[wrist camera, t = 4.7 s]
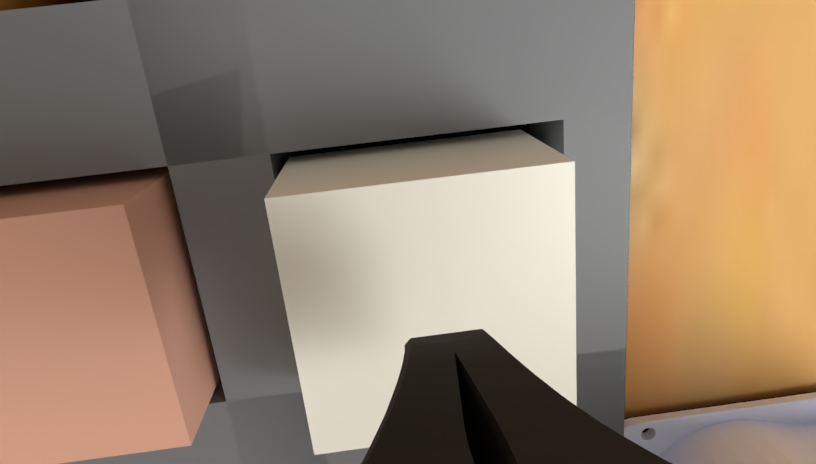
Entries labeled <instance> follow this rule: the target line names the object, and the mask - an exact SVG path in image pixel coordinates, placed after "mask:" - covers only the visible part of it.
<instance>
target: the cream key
mask: <svg viewBox="0 0 816 464" xmlns="http://www.w3.org/2000/svg"><path fill="white" fill-rule="evenodd" d="M264 201H265V206H266V211H267V216H268V221H269V226H270V231H271V236H272V241H273V247H274V252H275V257H276V262H277V267H278V272H279V277H280V282H281V287H282V293H283V298H284V303H285V308H286V313H287V318H288V323H289V328H290V333H291V339H292V344H293V349H294V354H295V359H296V364H297V369H298V374H299V379H300V385H301V390H302V395H303V400H304V405H305V410H306V415H307V420H308V425H309V431H310V436H311V441H312V446H313V451H314V455H318V454H326V453H333V452H340V451H347V450H354V449H362V448H369V447H370V445H371V443H372V441H373V439H374V437H375V435H376V433H377V431H378V429H379V426H380V424H381V422H382V420H383V418H384V416H385V413H386V411H387V408H388V406H389V403H390V400H391V398H392V395H393V392H394V390H395V387H396V384H397V381H398V378H399V374H400V371H401V367H402V363H403V359H404V352H405V344H406V343H407V342H408V341H409V339H410V338H416V337H424V336H431V335H439V334H446V333H454V332H461V331H469V330H477V329H483V330H484V331H486V332H487V333H488V334H489V335H490V336H491V337H493V338H494V339H495V340H496V341H497V342H498V343H499V344H500V345H502V346H503V347H504V348H505V349H506V350H507V351H508V352H509V353H510V354H512V355H513V356H514V357H515V358H516V359H517V360H519V361H520V362H521V363H522V364H523V365H524V366H525V367H527V368H528V369H529V370H530V371H531V372H533V373H534V374H535V375H536V376H538V377H539V378H540V379H541V380H543V381H544V382H545V383H547V384H548V385H549V386H550V387H552V388H553V389H554V390H555V391H557V392H558V393H559V394H560V395H562V396H563V397H565V398H566V399H567V400H569V401H570V402H572V403H573V404H574V405H576V406H577V382H576V245H575V161H574V160H572V159H570V158H569V157H567V156H565V155H563V154H562V153H560V152H558V151H557V150H555V149H553V148H551V147H550V146H548V145H546V144H545V143H543V142H541V141H539V140H538V139H536V138H534V137H533V136H531V135H529V134H527V133H526V132H524V131H522V130H521V129H520V130H512V131H503V132H495V133H486V134H478V135H469V136H461V137H453V138H444V139H436V140H427V141H419V142H410V143H402V144H393V145H385V146H376V147H368V148H359V149H351V150H343V151H334V152H326V153H317V154H309V155H300V156H292V157H289V159H288V160H287V162H286V163H285V165H284V167H283V168H282V170H281V172H280V173H279V175H278V177H277V178H276V180H275V182H274V183H273V185H272V187H271V188H270V190H269V192H268V193H267V195H266V196H265V198H264Z"/></svg>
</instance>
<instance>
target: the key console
mask: <svg viewBox="0 0 816 464" xmlns="http://www.w3.org/2000/svg"><path fill="white" fill-rule="evenodd" d="M634 22H635V0H97V1H88V2H78V3H69V4H60V5H50V6H41V7H32V8H22V9H13V10H3V11H0V186H4V185H13V184H21V183H30V182H38V181H47V180H55V179H64V178H72V177H81V176H89V175H97V174H106V173H114V172H123V171H131V170H140V169H148V168H157V167H165V166H168V170H169V174H170V178H171V182H172V186H173V190H174V194H175V198H176V202H177V206H178V210H179V214H180V218H181V222H182V226H183V230H184V234H185V238H186V242H187V246H188V250H189V254H190V258H191V262H192V266H193V270H194V274H195V278H196V282H197V286H198V290H199V294H200V298H201V302H202V306H203V310H204V314H205V318H206V322H207V326H208V330H209V334H210V338H211V342H212V346H213V350H214V354H215V358H216V362H217V366H218V370H219V374H220V378H219V380H218V383H217V385H216V388H215V390H214V392H213V395H212V397H211V400H210V402H209V404H208V407H207V409H206V412H205V414H204V416H203V419H202V421H201V424H200V426H199V428H198V431H197V433H196V435H195V438H194V440H193V443H192V445H191V446H185V447H177V448H170V449H163V450H155V451H148V452H141V453H133V454H126V455H119V456H111V457H104V458H97V459H89V460H82V461H75V462H67V463H60V464H361V463H362V461H363V459H364V457H365V455H366V454H367V452H368V450H369V448H370V447H369V448H362V449H354V450H347V451H340V452H333V453H326V454H318V455H314V451H313V446H312V441H311V436H310V431H309V425H308V420H307V415H306V410H305V405H304V400H303V395H302V390H301V385H300V379H299V374H298V369H297V364H296V359H295V354H294V349H293V344H292V339H291V333H290V328H289V323H288V318H287V313H286V308H285V303H284V298H283V293H282V287H281V282H280V277H279V272H278V267H277V262H276V257H275V252H274V247H273V241H272V236H271V231H270V226H269V221H268V216H267V211H266V206H265V201H264V198H265V196H266V195H267V193H268V192H269V190H270V188H271V187H272V185H273V183H274V182H275V180H276V178H277V177H278V175H279V173H280V172H281V170H282V168H283V167H284V165H285V163H286V162H287V160H288V159H289V157H290V156H289V152H293V151H301V150H310V149H318V148H327V147H335V146H344V145H352V144H361V143H369V142H377V141H386V140H394V139H403V138H411V137H420V136H428V135H437V134H445V133H454V132H462V131H471V130H479V129H488V128H496V127H505V126H513V125H522V124H530V135H531V136H533V137H534V138H536V139H538V140H539V141H541V142H543V143H545V144H546V145H548V146H550V147H551V148H553V149H555V150H557V151H558V152H560V153H562V154H563V155H565V156H567V157H569V158H570V159H572V160H574V161H575V245H576V382H577V407H579V408H580V409H582V410H583V411H585V412H586V413H588V414H589V415H591V416H592V417H593V418H595V419H596V420H598V421H599V422H601V423H602V424H604V425H606V426H607V427H609V428H610V429H612V430H614V431H615V432H617V433H619V434H620V435H622V436H624V409H625V370H626V331H627V293H628V254H629V215H630V177H631V138H632V99H633V61H634Z"/></svg>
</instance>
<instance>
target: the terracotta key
mask: <svg viewBox="0 0 816 464" xmlns="http://www.w3.org/2000/svg"><path fill="white" fill-rule="evenodd" d="M219 378H220V374H219V370H218V366H217V362H216V358H215V354H214V350H213V346H212V342H211V338H210V334H209V330H208V326H207V322H206V318H205V314H204V310H203V306H202V302H201V298H200V294H199V290H198V286H197V282H196V278H195V274H194V270H193V266H192V262H191V258H190V254H189V250H188V246H187V242H186V238H185V234H184V230H183V226H182V222H181V218H180V214H179V210H178V206H177V202H176V198H175V194H174V190H173V186H172V182H171V178H170V174H169V170H168V166H165V167H157V168H148V169H140V170H131V171H123V172H114V173H106V174H97V175H89V176H81V177H72V178H64V179H55V180H47V181H38V182H30V183H21V184H13V185H4V186H0V464H60V463H67V462H75V461H82V460H89V459H97V458H104V457H111V456H119V455H126V454H133V453H141V452H148V451H155V450H163V449H170V448H177V447H185V446H191V445H192V443H193V440H194V438H195V435H196V433H197V431H198V428H199V426H200V424H201V421H202V419H203V416H204V414H205V412H206V409H207V407H208V404H209V402H210V400H211V397H212V395H213V392H214V390H215V388H216V385H217V383H218V380H219Z"/></svg>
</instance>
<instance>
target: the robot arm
mask: <svg viewBox="0 0 816 464" xmlns="http://www.w3.org/2000/svg"><path fill="white" fill-rule="evenodd" d="M647 428H649V430H648V431H647V432H644V433H642V431H643V430H644V429H647ZM361 464H816V392H814V393H807V394H799V395H792V396H785V397H778V398H771V399H763V400H756V401H749V402H742V403H734V404H727V405H720V406H713V407H706V408H698V409H691V410H684V411H677V412H669V413H662V414H655V415H648V416H641V417H633V418H629V419H625V420H624V436H622V435H620V434H619V433H617V432H615V431H614V430H612V429H610V428H609V427H607V426H606V425H604V424H602V423H601V422H599V421H598V420H596V419H595V418H593V417H592V416H591V415H589V414H588V413H586V412H585V411H583V410H582V409H580V408H579V407H577V406H576V405H574V404H573V403H572V402H570V401H569V400H567V399H566V398H565V397H563V396H562V395H560V394H559V393H558V392H557V391H555V390H554V389H553V388H552V387H550V386H549V385H548V384H547V383H545V382H544V381H543V380H541V379H540V378H539V377H538V376H536V375H535V374H534V373H533V372H531V371H530V370H529V369H528V368H527V367H525V366H524V365H523V364H522V363H521V362H520V361H519V360H517V359H516V358H515V357H514V356H513V355H512V354H510V353H509V352H508V351H507V350H506V349H505V348H504V347H503V346H502V345H500V344H499V343H498V342H497V341H496V340H495V339H494V338H493V337H491V336H490V335H489V334H488V333H487V332H486V331H484V330H483V329H477V330H469V331H461V332H454V333H446V334H439V335H431V336H424V337H416V338H410V339H409V341H408V342H407V343H406V344H405V352H404V359H403V363H402V367H401V371H400V374H399V378H398V381H397V384H396V387H395V390H394V392H393V395H392V398H391V400H390V403H389V406H388V408H387V411H386V413H385V416H384V418H383V420H382V422H381V424H380V426H379V429H378V431H377V433H376V435H375V437H374V439H373V441H372V443H371V445H370V448H369V450H368V452H367V454H366V455H365V457H364V459H363V461H362V463H361Z"/></svg>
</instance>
